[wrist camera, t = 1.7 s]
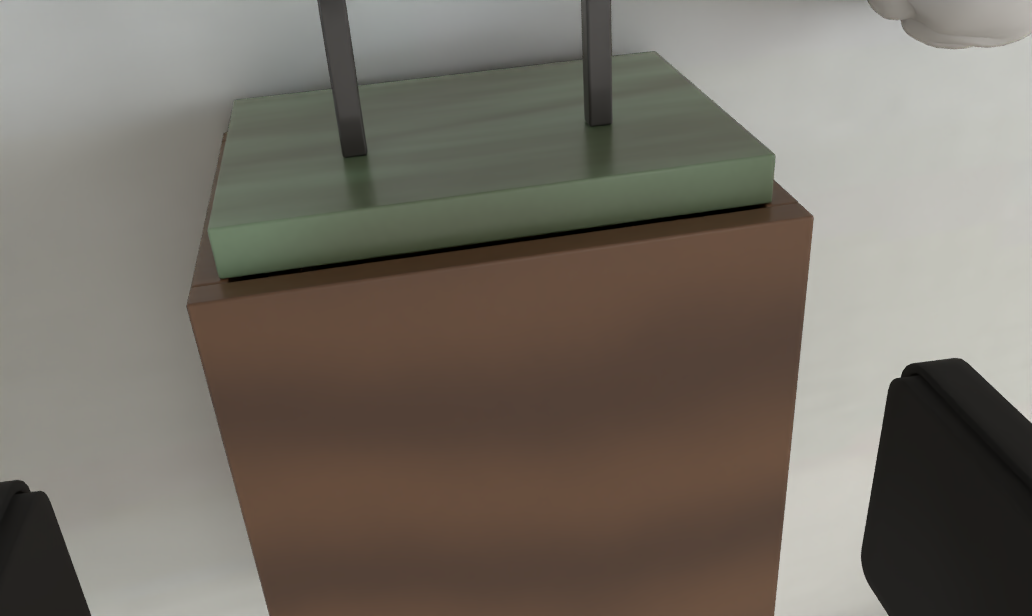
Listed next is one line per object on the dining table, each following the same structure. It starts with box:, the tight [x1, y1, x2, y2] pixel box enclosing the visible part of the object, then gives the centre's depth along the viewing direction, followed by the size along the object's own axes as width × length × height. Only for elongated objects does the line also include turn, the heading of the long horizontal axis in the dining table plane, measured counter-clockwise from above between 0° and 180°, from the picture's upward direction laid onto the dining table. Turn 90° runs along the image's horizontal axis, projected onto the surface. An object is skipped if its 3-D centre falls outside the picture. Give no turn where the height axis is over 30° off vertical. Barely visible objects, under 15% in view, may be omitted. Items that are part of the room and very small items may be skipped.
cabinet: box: [187, 132, 814, 616], centre depth 30 cm, size 18×14×11 cm
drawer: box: [207, 0, 775, 279], centre depth 27 cm, size 22×12×9 cm, turn 4°
